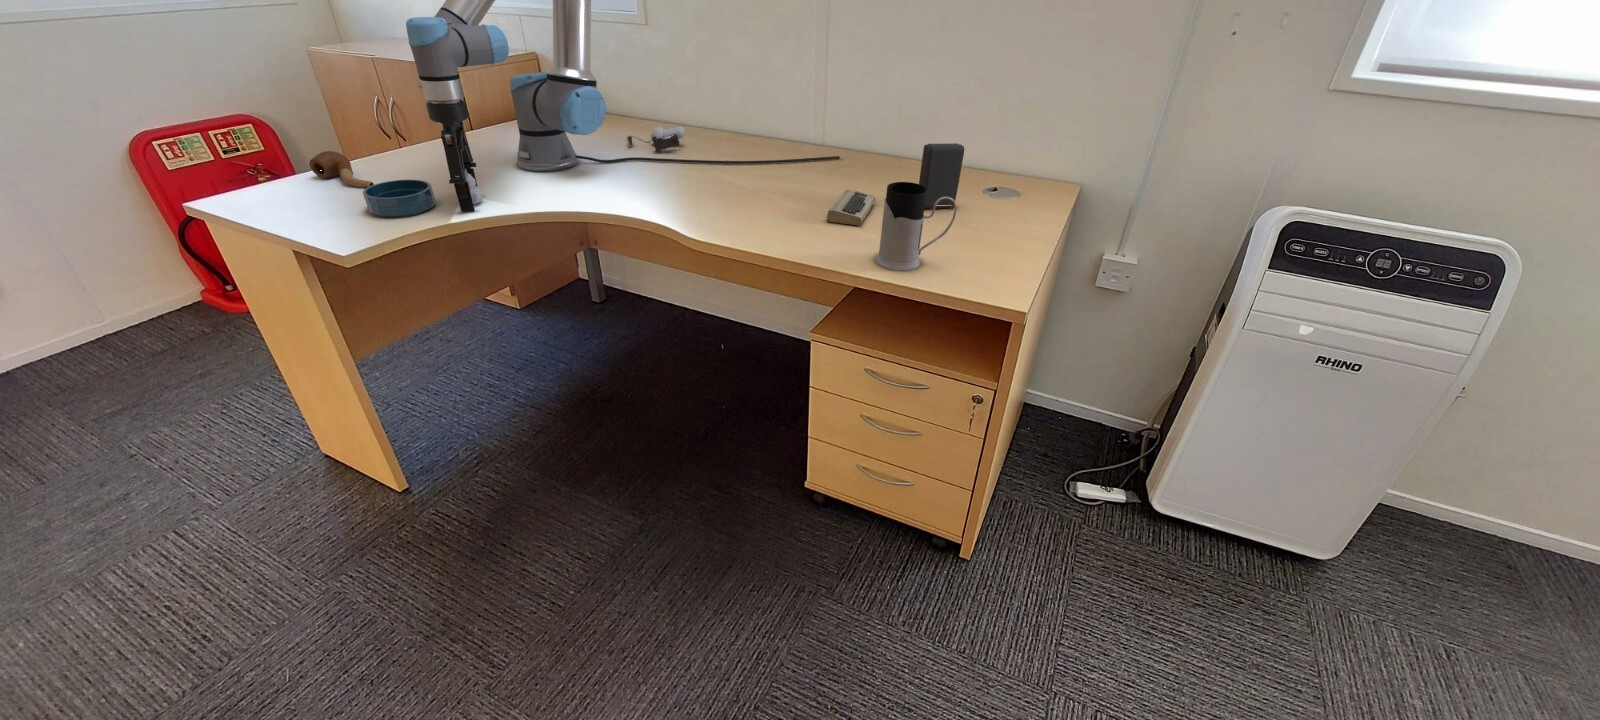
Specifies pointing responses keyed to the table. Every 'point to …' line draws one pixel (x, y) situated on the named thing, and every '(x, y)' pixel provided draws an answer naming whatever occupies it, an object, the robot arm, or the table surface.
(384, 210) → the bowl
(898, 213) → the glass holder
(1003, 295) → the table surface
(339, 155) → the pipe
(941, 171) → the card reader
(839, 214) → the computer
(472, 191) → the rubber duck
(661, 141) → the clip-on lamp
